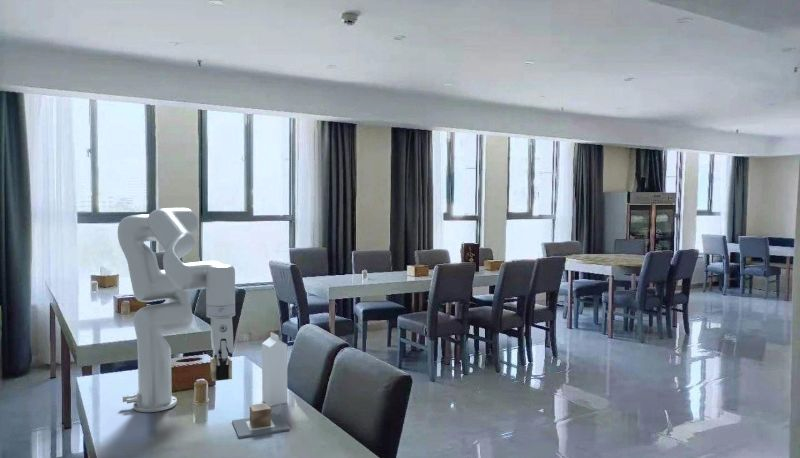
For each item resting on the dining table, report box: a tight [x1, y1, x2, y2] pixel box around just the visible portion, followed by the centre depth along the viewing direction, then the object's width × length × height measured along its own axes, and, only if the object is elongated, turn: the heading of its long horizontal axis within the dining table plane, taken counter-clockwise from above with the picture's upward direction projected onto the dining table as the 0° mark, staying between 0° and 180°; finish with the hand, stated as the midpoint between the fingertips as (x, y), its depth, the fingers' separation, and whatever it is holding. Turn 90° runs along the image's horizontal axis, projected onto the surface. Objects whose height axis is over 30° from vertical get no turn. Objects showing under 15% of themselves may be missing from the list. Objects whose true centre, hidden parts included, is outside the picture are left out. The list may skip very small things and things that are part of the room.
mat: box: [231, 412, 290, 439], centre depth 167 cm, size 14×12×1 cm
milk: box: [261, 332, 288, 407], centre depth 186 cm, size 6×6×22 cm
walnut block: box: [249, 402, 272, 429], centre depth 167 cm, size 5×5×5 cm
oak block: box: [209, 355, 233, 382], centre depth 159 cm, size 5×5×5 cm
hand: (221, 375), depth 159 cm, fingers closed on oak block, 5 cm apart
